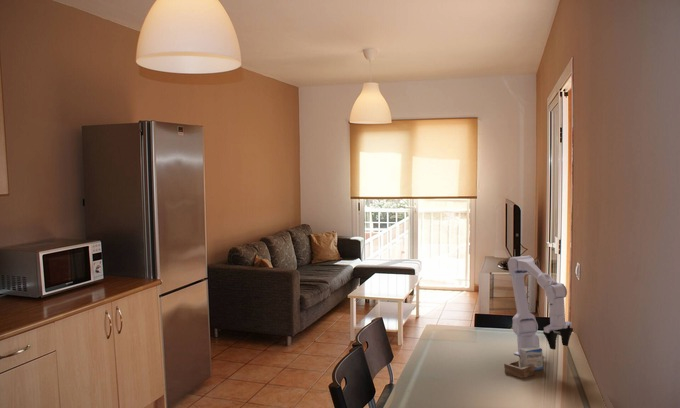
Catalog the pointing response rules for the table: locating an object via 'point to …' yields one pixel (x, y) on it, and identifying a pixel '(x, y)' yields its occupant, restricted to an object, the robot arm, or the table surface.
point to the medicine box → (531, 357)
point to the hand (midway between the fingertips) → (559, 347)
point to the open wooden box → (518, 369)
